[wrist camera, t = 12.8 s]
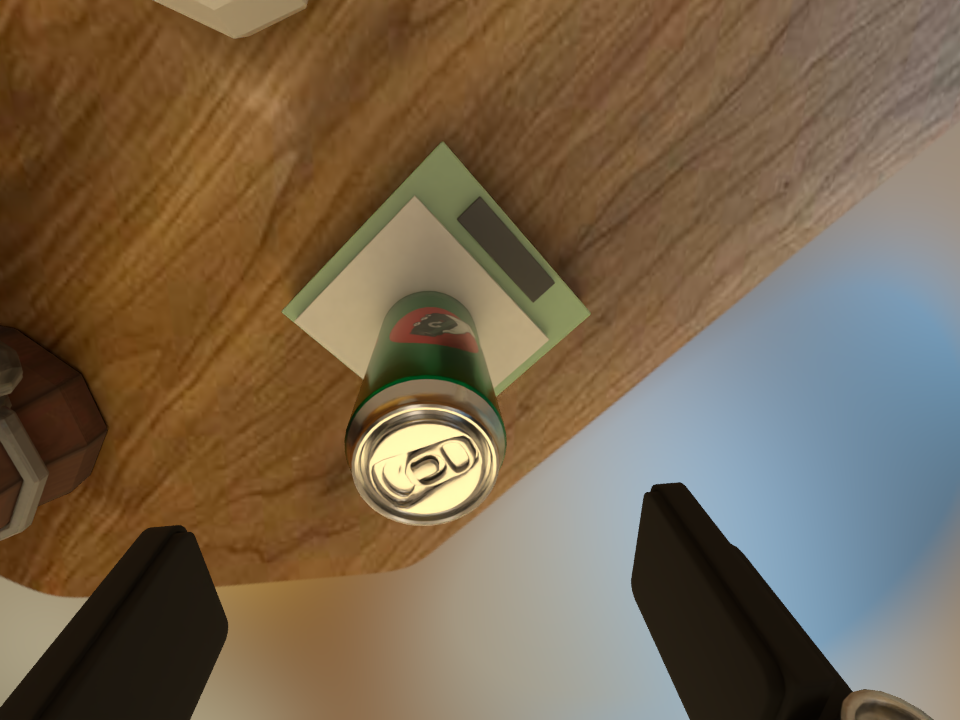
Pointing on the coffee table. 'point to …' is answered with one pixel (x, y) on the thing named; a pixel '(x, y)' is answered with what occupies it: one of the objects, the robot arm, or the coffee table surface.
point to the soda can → (426, 416)
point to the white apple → (236, 13)
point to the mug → (41, 430)
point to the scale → (440, 274)
